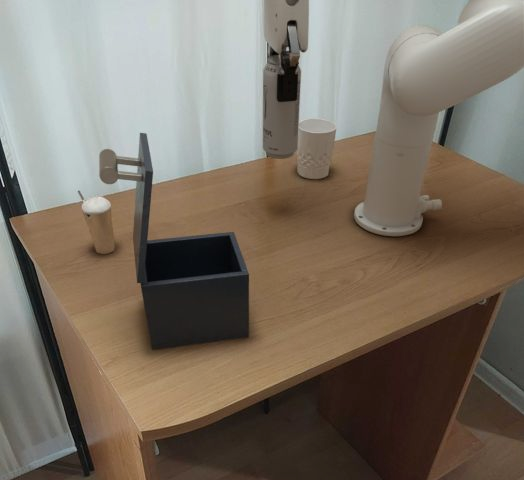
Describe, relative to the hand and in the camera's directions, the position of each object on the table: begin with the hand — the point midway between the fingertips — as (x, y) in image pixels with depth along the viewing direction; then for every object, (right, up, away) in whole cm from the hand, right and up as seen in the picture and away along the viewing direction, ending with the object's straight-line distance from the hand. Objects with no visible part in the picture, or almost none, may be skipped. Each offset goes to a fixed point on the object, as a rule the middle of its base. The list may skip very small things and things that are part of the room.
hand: (281, 92), depth 87 cm
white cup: (+8, -4, +28) cm, 29 cm away
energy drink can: (0, -7, +7) cm, 10 cm away
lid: (-17, -25, -22) cm, 38 cm away
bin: (-13, -38, -9) cm, 41 cm away
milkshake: (-30, -25, +4) cm, 39 cm away
